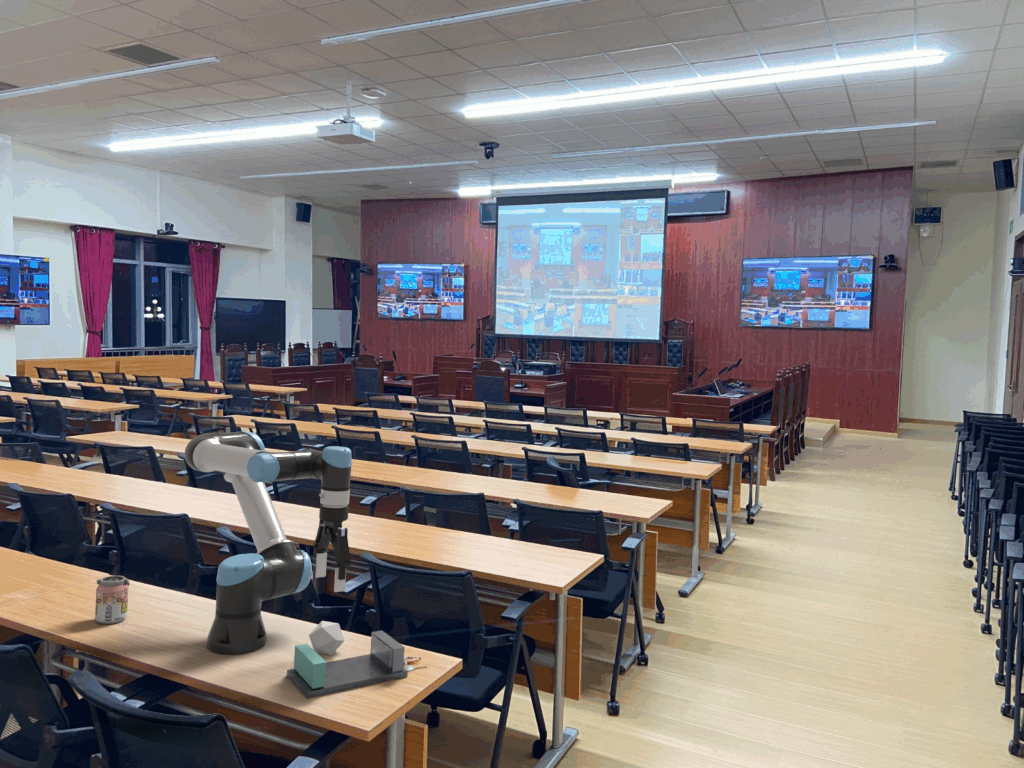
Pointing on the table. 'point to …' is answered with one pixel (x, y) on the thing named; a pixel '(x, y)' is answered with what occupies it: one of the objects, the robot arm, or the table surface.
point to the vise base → (359, 668)
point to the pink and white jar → (111, 599)
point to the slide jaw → (310, 665)
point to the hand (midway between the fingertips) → (329, 583)
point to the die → (326, 638)
